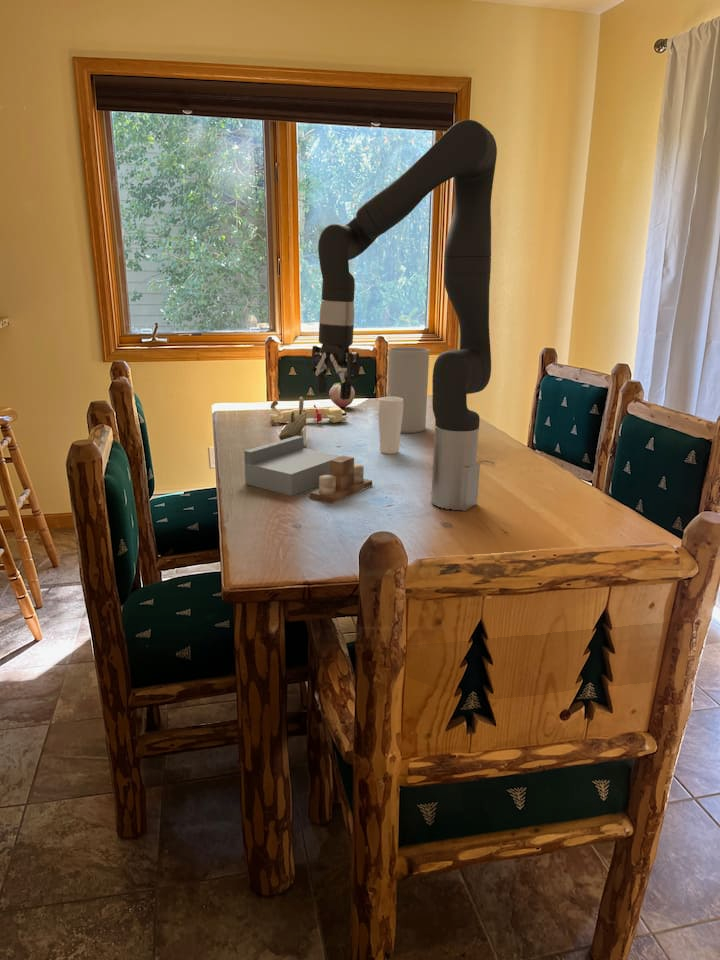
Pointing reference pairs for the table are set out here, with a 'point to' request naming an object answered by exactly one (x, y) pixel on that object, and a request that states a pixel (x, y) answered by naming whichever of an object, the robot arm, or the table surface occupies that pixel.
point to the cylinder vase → (409, 384)
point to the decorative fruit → (336, 398)
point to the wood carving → (296, 425)
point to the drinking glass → (390, 423)
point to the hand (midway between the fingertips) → (332, 395)
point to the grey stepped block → (286, 466)
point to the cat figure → (309, 414)
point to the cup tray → (341, 480)
